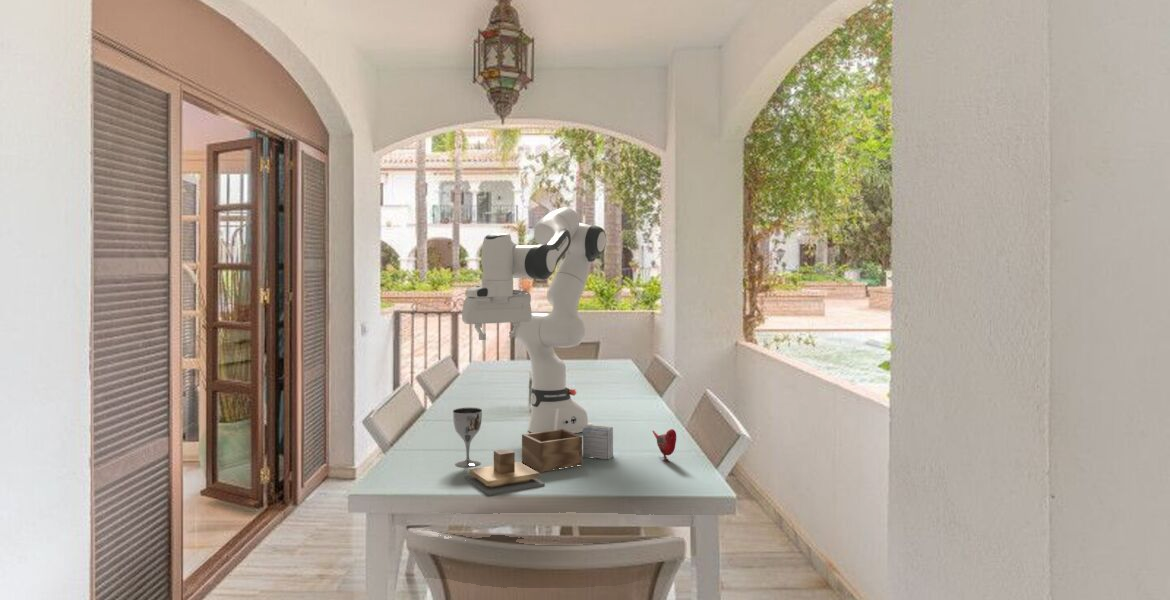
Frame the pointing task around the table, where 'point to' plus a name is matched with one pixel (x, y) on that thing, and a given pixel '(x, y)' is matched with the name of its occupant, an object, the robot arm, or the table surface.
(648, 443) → the table surface
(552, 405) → the robot arm
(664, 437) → the decorative bird figurine
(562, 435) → the storage box
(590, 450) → the medicine box
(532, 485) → the mat
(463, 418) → the wine glass
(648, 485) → the table surface
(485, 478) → the lid
